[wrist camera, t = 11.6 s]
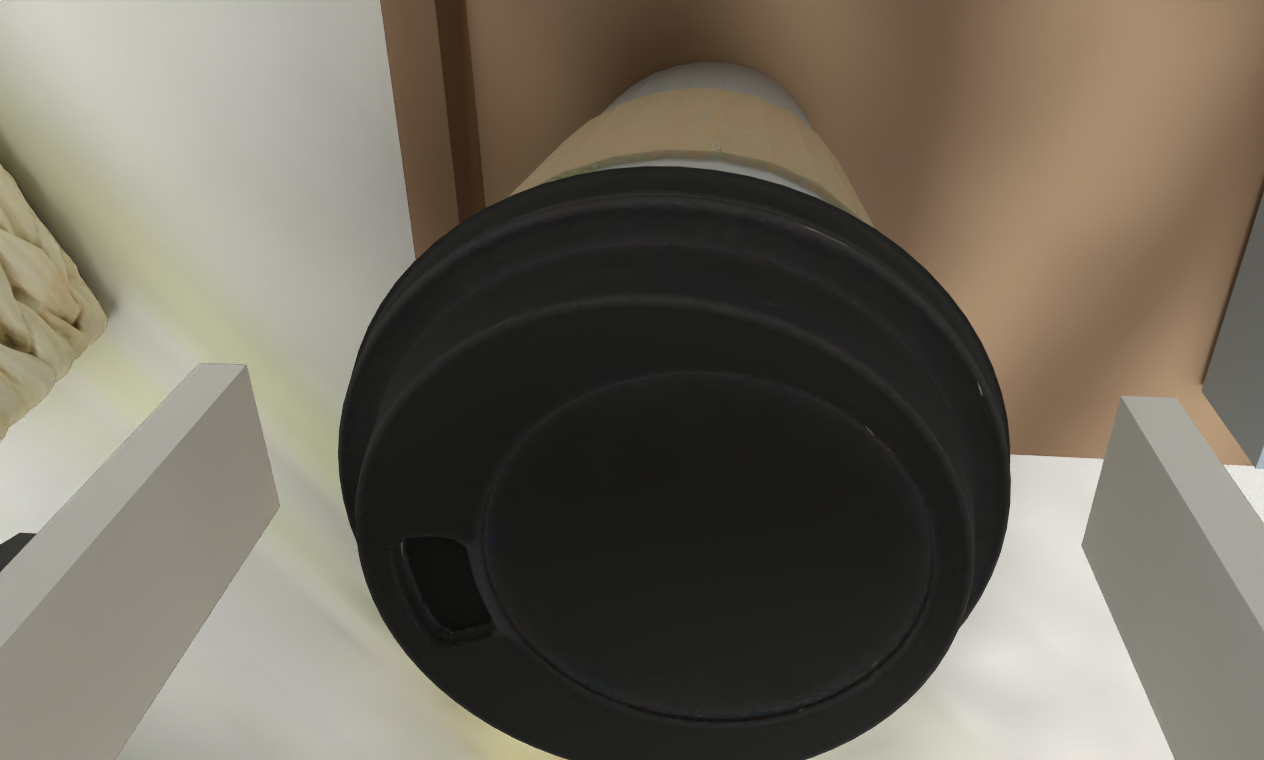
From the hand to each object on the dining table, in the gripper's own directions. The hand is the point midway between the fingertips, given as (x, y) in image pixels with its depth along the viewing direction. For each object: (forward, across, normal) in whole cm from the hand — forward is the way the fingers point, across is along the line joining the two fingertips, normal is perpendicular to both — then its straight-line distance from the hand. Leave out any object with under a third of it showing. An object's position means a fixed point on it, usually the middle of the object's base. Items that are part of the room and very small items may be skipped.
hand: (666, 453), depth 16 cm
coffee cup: (+12, 0, 0) cm, 12 cm away
